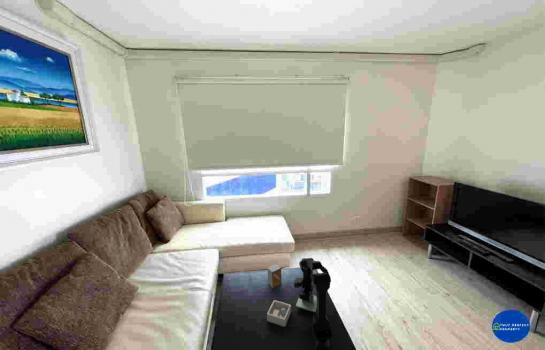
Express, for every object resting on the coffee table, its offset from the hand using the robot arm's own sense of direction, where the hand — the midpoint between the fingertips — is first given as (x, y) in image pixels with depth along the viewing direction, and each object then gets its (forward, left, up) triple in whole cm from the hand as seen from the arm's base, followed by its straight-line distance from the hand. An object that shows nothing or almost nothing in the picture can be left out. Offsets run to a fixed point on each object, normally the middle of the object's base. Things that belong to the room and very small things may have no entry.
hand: (307, 299), depth 134 cm
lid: (0, 0, -3) cm, 3 cm away
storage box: (-14, +14, -4) cm, 20 cm away
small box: (+11, +27, -5) cm, 30 cm away
